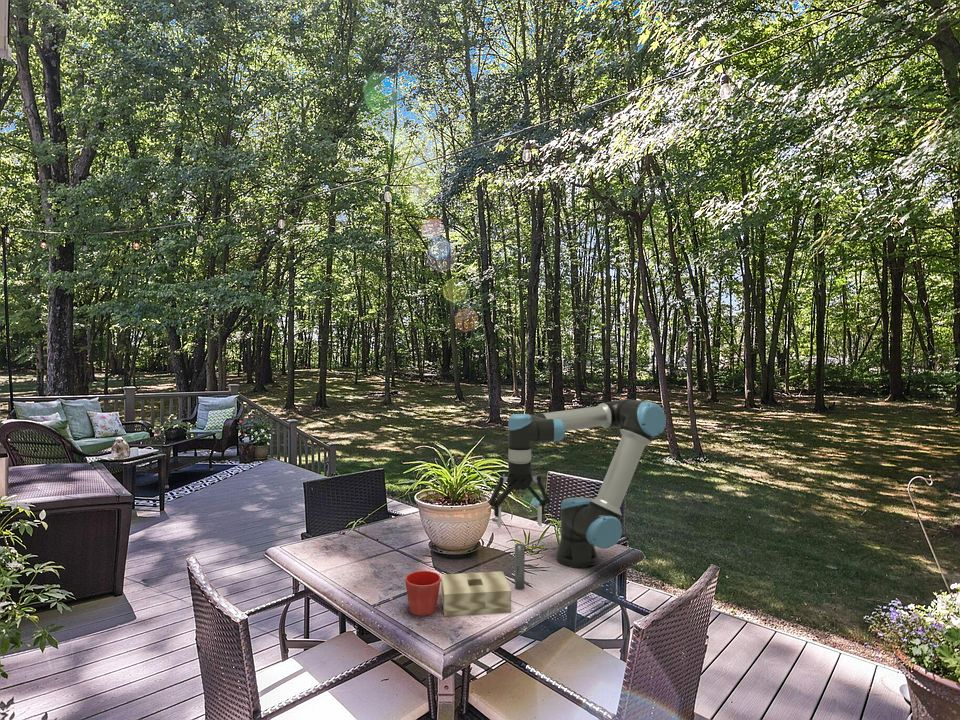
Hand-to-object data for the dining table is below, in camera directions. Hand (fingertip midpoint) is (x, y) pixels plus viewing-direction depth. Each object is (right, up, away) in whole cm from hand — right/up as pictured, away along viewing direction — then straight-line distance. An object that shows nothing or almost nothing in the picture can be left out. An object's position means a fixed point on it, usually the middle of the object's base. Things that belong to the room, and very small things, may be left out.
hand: (519, 525), depth 173 cm
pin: (0, -21, 0) cm, 21 cm away
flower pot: (-30, -21, -15) cm, 40 cm away
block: (-15, -21, -11) cm, 27 cm away
